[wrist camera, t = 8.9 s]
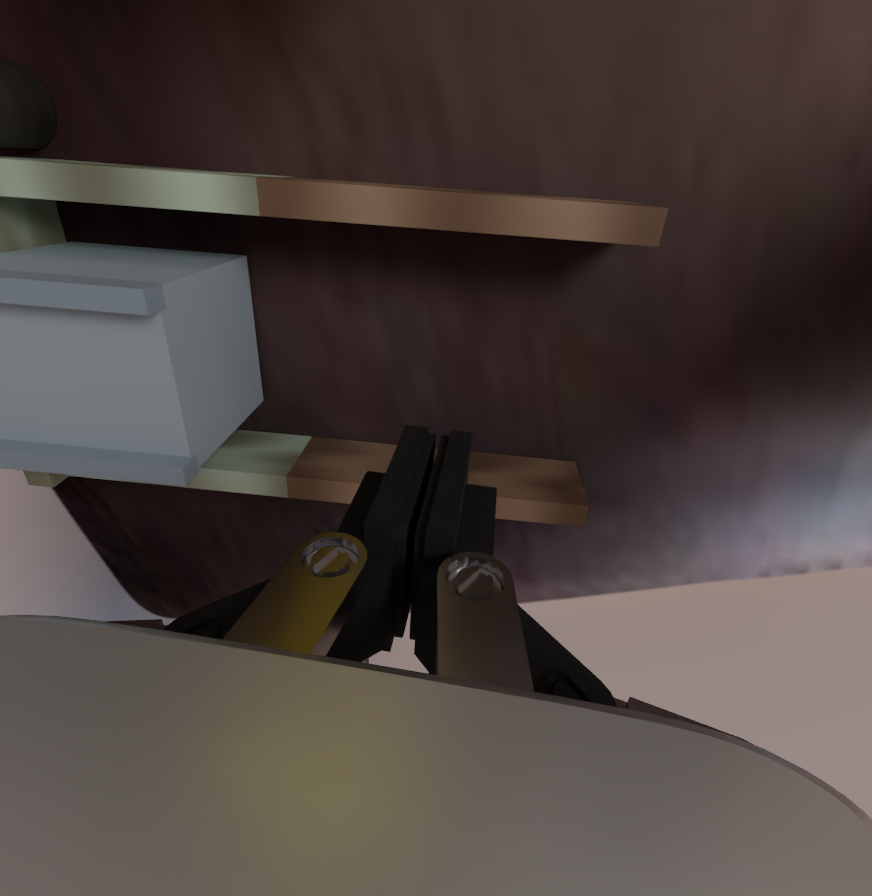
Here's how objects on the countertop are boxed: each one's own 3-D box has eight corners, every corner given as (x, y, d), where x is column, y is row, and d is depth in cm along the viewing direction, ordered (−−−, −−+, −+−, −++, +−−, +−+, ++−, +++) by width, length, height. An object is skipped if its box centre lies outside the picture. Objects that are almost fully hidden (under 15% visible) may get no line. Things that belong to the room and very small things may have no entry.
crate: (248, 253, 22) (142, 289, 15) (265, 402, 25) (186, 486, 19) (68, 239, 22) (-115, 267, 15) (110, 388, 26) (-24, 465, 19)
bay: (684, -4, 17) (901, -195, 8) (570, 480, 26) (614, 631, 18) (-65, -47, 18) (-585, -258, 9) (88, 434, 28) (-94, 554, 19)
